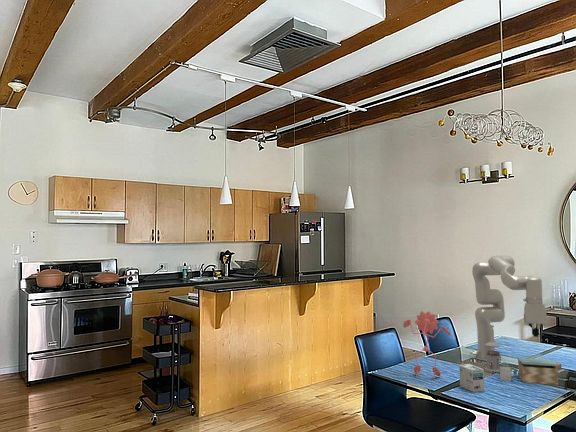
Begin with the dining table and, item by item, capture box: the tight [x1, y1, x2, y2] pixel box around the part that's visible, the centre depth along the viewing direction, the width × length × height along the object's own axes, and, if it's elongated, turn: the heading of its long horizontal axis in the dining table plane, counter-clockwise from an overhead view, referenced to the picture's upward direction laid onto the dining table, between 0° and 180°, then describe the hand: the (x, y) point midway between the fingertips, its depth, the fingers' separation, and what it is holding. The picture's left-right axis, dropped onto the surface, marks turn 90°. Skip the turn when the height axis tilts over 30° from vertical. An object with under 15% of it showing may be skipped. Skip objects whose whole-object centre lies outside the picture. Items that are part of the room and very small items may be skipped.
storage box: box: [517, 359, 559, 386], centre depth 240 cm, size 16×14×8 cm
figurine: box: [402, 310, 451, 380], centre depth 251 cm, size 15×26×35 cm, turn 59°
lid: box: [517, 357, 558, 366], centre depth 240 cm, size 16×14×1 cm
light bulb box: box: [458, 363, 486, 393], centre depth 227 cm, size 11×7×11 cm, turn 17°
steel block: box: [499, 366, 512, 382], centre depth 241 cm, size 5×5×6 cm
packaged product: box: [554, 361, 566, 374], centre depth 254 cm, size 18×5×10 cm
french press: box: [483, 324, 502, 373], centre depth 260 cm, size 10×12×25 cm
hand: (535, 336), depth 239 cm, fingers closed
